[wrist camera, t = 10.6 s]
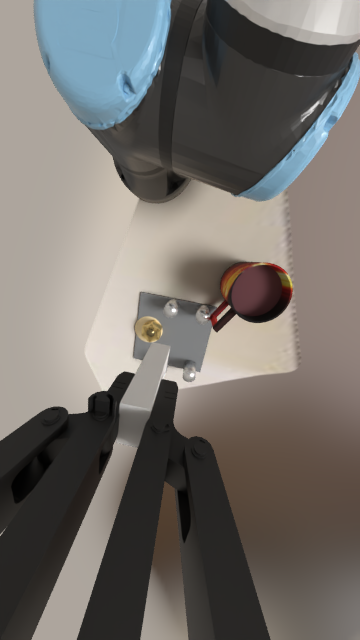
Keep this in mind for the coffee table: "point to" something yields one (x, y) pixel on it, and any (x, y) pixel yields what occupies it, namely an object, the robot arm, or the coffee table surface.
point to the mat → (173, 330)
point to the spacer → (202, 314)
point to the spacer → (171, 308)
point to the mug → (253, 293)
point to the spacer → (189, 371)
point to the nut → (151, 331)
